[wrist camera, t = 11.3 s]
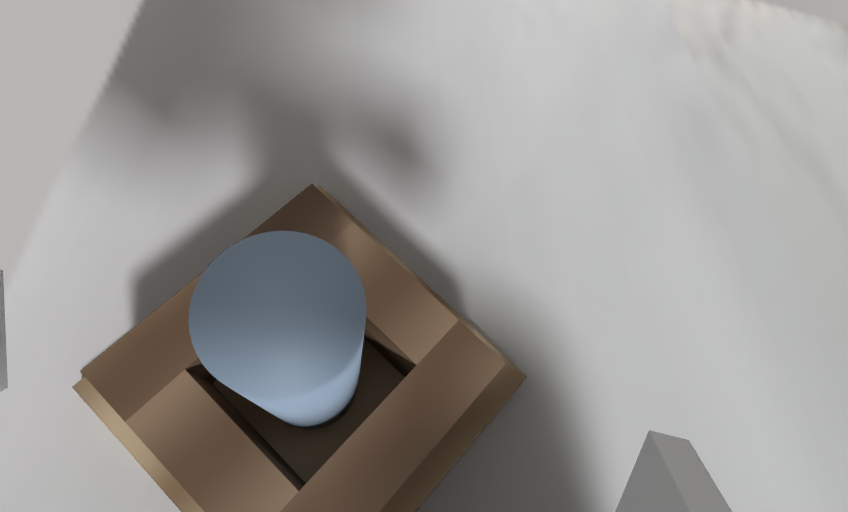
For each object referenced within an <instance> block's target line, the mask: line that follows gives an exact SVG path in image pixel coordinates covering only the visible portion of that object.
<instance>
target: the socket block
mask: <svg viewBox="0 0 848 512" xmlns="http://www.w3.org/2000/svg"><path fill="white" fill-rule="evenodd" d="M271 231H296V232H301V233H306V234H309V235H312V236H315V237H318V238H320V239H322V240H324V241H326V242H328V243H329V244H331V245H332V246H334V247H335V248H337V249H338V250H339V251H340V252H341V253H343V255H344V256H345V257H346V258H347V259H348V260H349V261H350V262H351V264H352V265H353V267H354V268H355V269H356V271H357V273H358V275H359V277H360V279H361V282H362V285H363V288H364V292H365V297H366V308H367V310H366V323H365V331H364V340H363V348H362V357H361V365H360V373H359V382H358V389H357V394H356V397H355V399H354V401H353V403H352V405H351V407H350V408H349V410H348V411H347V412H346V413H345V415H343V416H342V417H341V418H340V419H339V420H337V421H336V422H335V423H333V424H331V425H329V426H326V427H323V428H319V429H312V430H309V429H300V428H296V427H293V426H291V425H289V424H287V423H286V422H284V421H282V420H281V419H279V418H277V417H276V416H274V415H273V414H271V413H269V412H268V411H266V410H264V409H263V408H261V407H260V406H258V405H256V404H255V403H253V402H251V401H250V400H248V399H247V398H245V397H243V396H242V395H240V394H238V393H237V392H235V391H234V390H232V389H230V388H229V387H227V386H226V385H224V384H223V383H221V382H220V381H218V380H217V379H216V378H215V377H214V376H213V375H212V374H210V373H209V371H208V370H207V369H206V368H205V367H204V365H203V364H202V363H201V361H200V359H199V358H198V356H197V354H196V352H195V349H194V347H193V345H192V341H191V337H190V333H189V323H188V319H189V307H190V302H191V298H192V295H193V292H194V289H195V287H196V285H197V283H198V281H199V279H200V277H201V276H202V274H203V273H204V271H203V272H202V273H201V274H200V275H199V276H197V277H196V278H195V279H194V280H192V281H191V282H190V283H189V284H187V285H186V286H185V287H184V288H182V289H181V290H180V291H179V292H178V293H176V294H175V295H174V296H173V297H171V298H170V299H169V300H168V301H166V302H165V303H164V304H163V305H161V306H160V307H159V308H158V309H157V310H155V311H154V312H153V313H152V314H150V315H149V316H148V317H147V318H145V319H144V320H143V321H142V322H140V323H139V324H138V325H137V326H136V327H134V328H133V329H132V330H131V331H129V332H128V333H127V334H126V335H124V336H123V337H122V338H121V339H119V340H118V341H117V342H116V343H115V344H113V345H112V346H111V347H110V348H108V349H107V350H106V351H105V352H103V353H102V354H101V355H100V356H98V357H97V358H96V359H95V360H94V361H92V362H91V363H90V364H89V365H87V366H86V367H85V368H84V369H82V370H81V371H80V372H81V373H82V374H83V375H84V376H85V377H84V378H83V379H81V380H80V381H79V382H78V383H76V384H75V385H74V386H73V387H72V388H73V389H74V390H75V391H76V392H77V393H78V394H79V396H80V397H81V398H82V399H83V400H84V401H85V402H86V404H87V405H88V406H89V407H90V408H91V409H92V410H93V412H94V413H95V414H96V415H97V416H98V417H99V418H100V420H101V421H102V422H103V423H104V424H105V425H106V426H107V427H108V429H109V430H110V431H111V432H112V433H113V434H114V435H115V437H116V438H117V439H118V440H119V441H120V442H121V443H122V445H123V446H124V447H125V448H126V449H127V450H128V451H129V453H130V454H131V455H132V456H133V457H134V458H135V459H136V461H137V462H138V463H139V464H140V465H141V466H142V467H143V469H144V470H145V471H146V472H147V473H148V474H149V475H150V476H151V478H152V479H153V480H154V481H155V482H156V483H157V484H158V486H159V487H160V488H161V489H162V490H163V491H164V492H165V494H166V495H167V496H168V497H169V498H170V499H171V500H172V502H173V503H174V504H175V505H176V506H177V507H178V508H179V510H180V511H181V512H416V510H417V509H418V508H419V507H420V506H421V504H422V503H423V502H424V501H425V499H426V498H427V497H428V496H429V495H430V493H431V492H432V491H433V490H434V489H435V487H436V486H437V485H438V484H439V482H440V481H441V480H442V479H443V478H444V476H445V475H446V474H447V473H448V472H449V470H450V469H451V468H452V467H453V465H454V464H455V463H456V462H457V461H458V459H459V458H460V457H461V456H462V455H463V453H464V452H465V451H466V450H467V448H468V447H469V446H470V445H471V444H472V442H473V441H474V440H475V439H476V438H477V436H478V435H479V434H480V433H481V432H482V430H483V429H484V428H485V427H486V425H487V424H488V423H489V422H490V421H491V419H492V418H493V417H494V416H495V415H496V413H497V412H498V411H499V410H500V408H501V407H502V406H503V405H504V404H505V402H506V401H507V400H508V399H509V398H510V396H511V395H512V394H513V393H514V391H515V390H516V389H517V388H518V387H519V385H520V384H521V383H522V382H523V381H524V379H525V378H526V376H525V375H524V374H523V373H522V372H521V371H520V370H519V369H518V368H516V367H515V366H514V365H513V364H512V363H511V362H510V361H509V360H508V359H507V358H506V357H505V356H503V355H502V354H501V353H500V352H499V351H498V350H497V349H496V348H495V347H494V346H493V345H492V344H491V343H489V342H488V341H487V340H486V339H485V338H484V337H483V336H482V335H481V334H480V333H479V332H478V331H476V330H475V329H474V328H473V327H472V326H471V325H470V324H469V323H468V322H467V321H466V320H465V319H464V318H462V317H461V316H460V315H459V314H458V313H457V312H456V311H455V310H454V309H453V308H452V307H451V306H449V305H448V304H447V303H446V302H445V301H444V300H443V299H442V298H441V297H440V296H439V295H438V294H436V293H435V292H434V291H433V290H432V289H431V288H430V287H429V286H428V285H427V284H426V283H425V282H424V281H422V280H421V279H420V278H419V277H418V276H417V275H416V274H415V273H414V272H413V271H412V270H411V269H409V268H408V267H407V266H406V265H405V264H404V263H403V262H402V261H401V260H400V259H399V258H398V257H396V256H395V255H394V254H393V253H392V252H391V251H390V250H389V249H388V248H387V247H386V246H385V245H384V244H382V243H381V242H380V241H379V240H378V239H377V238H376V237H375V236H374V235H373V234H372V233H371V232H369V231H368V230H367V229H366V228H365V227H364V226H363V225H362V224H361V223H360V222H359V221H358V220H356V219H355V218H354V217H353V216H352V215H351V214H350V213H349V212H348V211H347V210H346V209H345V208H344V207H342V206H341V205H340V204H339V203H338V202H337V201H336V200H335V199H334V198H333V197H332V196H331V195H329V194H328V193H327V192H326V191H325V190H324V189H323V188H322V187H321V186H320V185H319V186H318V187H317V188H316V187H315V186H314V185H313V184H311V185H310V186H309V187H307V188H306V189H305V190H304V191H302V192H301V193H300V194H299V195H297V196H296V197H295V198H294V199H292V200H291V201H290V202H289V203H288V204H286V205H285V206H284V207H283V208H281V209H280V210H279V211H278V212H276V213H275V214H274V215H273V216H271V217H270V218H269V219H268V220H266V221H265V222H264V223H263V224H262V225H260V226H259V227H258V228H257V229H255V230H254V231H253V232H252V233H250V234H249V235H248V236H247V237H245V238H248V237H250V236H253V235H257V234H260V233H265V232H271ZM245 238H244V239H245Z"/></svg>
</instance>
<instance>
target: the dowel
mask: <svg viewBox="0 0 848 512" xmlns="http://www.w3.org/2000/svg"><path fill="white" fill-rule="evenodd" d="M366 310H367V308H366V297H365V292H364V288H363V285H362V282H361V279H360V277H359V275H358V273H357V271H356V269H355V268H354V267H353V265H352V264H351V262H350V261H349V260H348V259H347V258H346V257H345V256H344V255H343V253H341V252H340V251H339V250H338V249H337V248H335V247H334V246H332V245H331V244H329V243H328V242H326V241H324V240H322V239H320V238H318V237H315V236H312V235H309V234H306V233H301V232H296V231H271V232H265V233H260V234H257V235H253V236H250V237H248V238H245V239H243V240H241V241H239V242H237V243H235V244H233V245H232V246H230V247H229V248H227V249H226V250H225V251H223V252H222V253H221V254H220V255H219V256H217V257H216V258H215V259H214V260H213V261H212V262H211V264H210V265H209V266H208V267H207V268H206V270H205V271H204V273H203V274H202V276H201V277H200V279H199V281H198V283H197V285H196V287H195V289H194V292H193V295H192V298H191V302H190V307H189V319H188V323H189V333H190V337H191V341H192V345H193V347H194V349H195V352H196V354H197V356H198V358H199V359H200V361H201V363H202V364H203V365H204V367H205V368H206V369H207V370H208V371H209V373H210V374H212V375H213V376H214V377H215V378H216V379H217V380H218V381H220V382H221V383H223V384H224V385H226V386H227V387H229V388H230V389H232V390H234V391H235V392H237V393H238V394H240V395H242V396H243V397H245V398H247V399H248V400H250V401H251V402H253V403H255V404H256V405H258V406H260V407H261V408H263V409H264V410H266V411H268V412H269V413H271V414H273V415H274V416H276V417H277V418H279V419H281V420H282V421H284V422H286V423H287V424H289V425H291V426H293V427H296V428H300V429H309V430H312V429H319V428H323V427H326V426H329V425H331V424H333V423H335V422H336V421H337V420H339V419H340V418H341V417H342V416H343V415H345V413H346V412H347V411H348V410H349V408H350V407H351V405H352V403H353V401H354V399H355V397H356V394H357V389H358V382H359V373H360V365H361V357H362V348H363V340H364V331H365V323H366Z"/></svg>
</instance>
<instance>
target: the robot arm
mask: <svg viewBox="0 0 848 512" xmlns="http://www.w3.org/2000/svg"><path fill="white" fill-rule="evenodd" d="M7 387H8V380H7V356H6V333H5V309H4V285H3V270H0V392H1V391H2V390H4V389H6V388H7ZM616 512H732V511H731V509H730V508H729V506H728V504H727V503H726V501H725V499H724V498H723V496H722V494H721V493H720V491H719V489H718V488H717V486H716V484H715V483H714V481H713V479H712V478H711V476H710V474H709V473H708V471H707V470H706V468H705V466H704V465H703V463H702V461H701V460H700V458H699V456H698V455H697V453H696V451H695V450H694V448H693V446H692V445H691V443H690V441H689V440H686V439H682V438H678V437H673V436H669V435H665V434H661V433H657V432H653V431H649V432H648V434H647V437H646V439H645V441H644V444H643V446H642V449H641V451H640V454H639V456H638V458H637V461H636V463H635V466H634V468H633V470H632V473H631V475H630V478H629V480H628V483H627V485H626V487H625V490H624V492H623V495H622V497H621V499H620V502H619V504H618V507H617V509H616Z"/></svg>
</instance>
